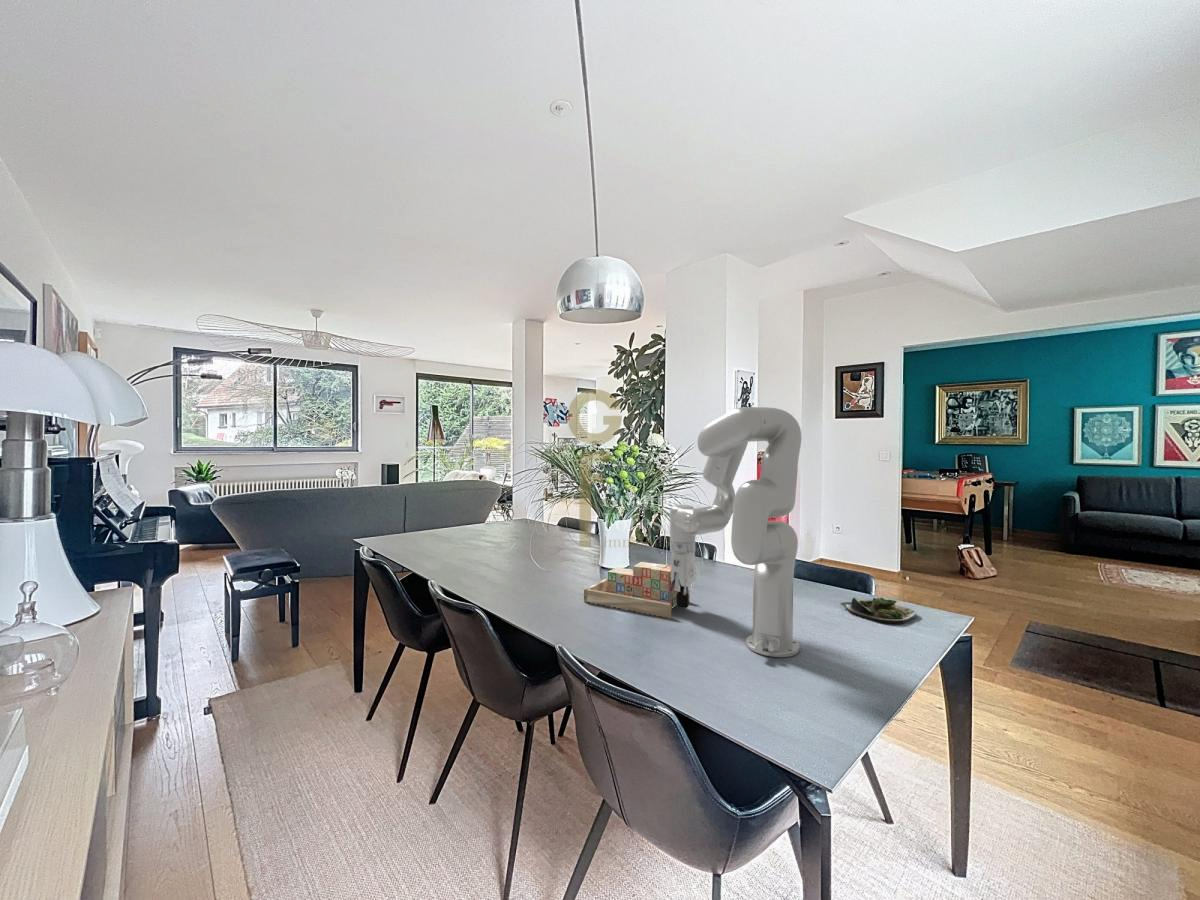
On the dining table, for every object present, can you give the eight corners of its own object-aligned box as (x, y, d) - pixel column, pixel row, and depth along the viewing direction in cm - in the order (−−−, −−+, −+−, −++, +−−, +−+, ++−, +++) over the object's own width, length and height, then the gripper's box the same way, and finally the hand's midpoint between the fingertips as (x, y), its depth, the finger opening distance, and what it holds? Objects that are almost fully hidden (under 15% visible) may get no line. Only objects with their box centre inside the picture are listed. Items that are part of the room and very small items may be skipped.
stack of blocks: (607, 600, 166) (607, 562, 166) (616, 594, 172) (616, 557, 171) (669, 611, 155) (669, 570, 155) (677, 605, 161) (677, 566, 160)
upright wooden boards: (669, 618, 149) (669, 604, 149) (583, 602, 164) (583, 589, 164) (689, 602, 163) (689, 589, 163) (609, 588, 178) (609, 576, 178)
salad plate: (869, 599, 166) (869, 585, 166) (928, 615, 152) (929, 600, 151) (833, 610, 156) (834, 595, 156) (894, 629, 141) (894, 612, 141)
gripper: (685, 552, 147) (685, 616, 147) (702, 543, 160) (702, 601, 160) (661, 550, 150) (661, 612, 151) (679, 540, 163) (679, 597, 164)
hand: (682, 606), depth 156 cm, fingers closed
